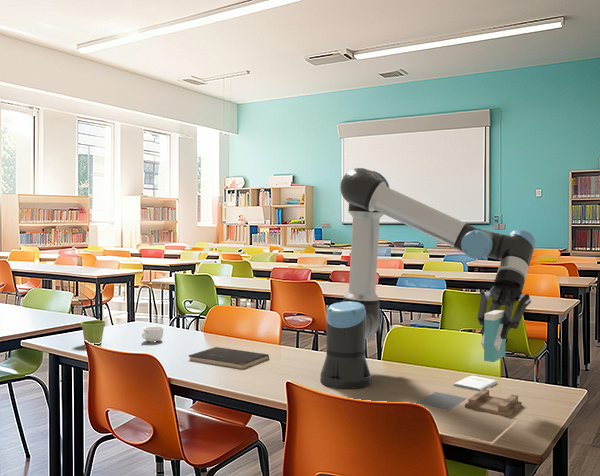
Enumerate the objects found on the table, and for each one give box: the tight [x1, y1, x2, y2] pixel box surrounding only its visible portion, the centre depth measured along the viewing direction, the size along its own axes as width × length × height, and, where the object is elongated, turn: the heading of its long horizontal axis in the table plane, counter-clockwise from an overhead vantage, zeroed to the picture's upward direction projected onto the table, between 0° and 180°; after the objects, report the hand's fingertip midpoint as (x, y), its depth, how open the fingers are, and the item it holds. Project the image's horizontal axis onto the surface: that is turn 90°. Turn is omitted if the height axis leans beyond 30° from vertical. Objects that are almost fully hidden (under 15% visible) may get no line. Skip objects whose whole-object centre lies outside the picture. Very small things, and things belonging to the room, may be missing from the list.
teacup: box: [141, 325, 164, 343], centre depth 221 cm, size 10×8×5 cm
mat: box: [416, 391, 468, 410], centre depth 148 cm, size 12×9×1 cm
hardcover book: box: [187, 346, 270, 370], centre depth 193 cm, size 16×23×2 cm
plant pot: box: [80, 319, 107, 344], centre depth 216 cm, size 9×9×9 cm
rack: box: [464, 388, 523, 417], centre depth 144 cm, size 11×11×3 cm
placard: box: [483, 309, 507, 363], centre depth 143 cm, size 9×2×12 cm, turn 142°
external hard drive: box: [452, 375, 498, 392], centre depth 164 cm, size 2×8×12 cm
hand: (489, 346), depth 140 cm, fingers closed on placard, 2 cm apart
